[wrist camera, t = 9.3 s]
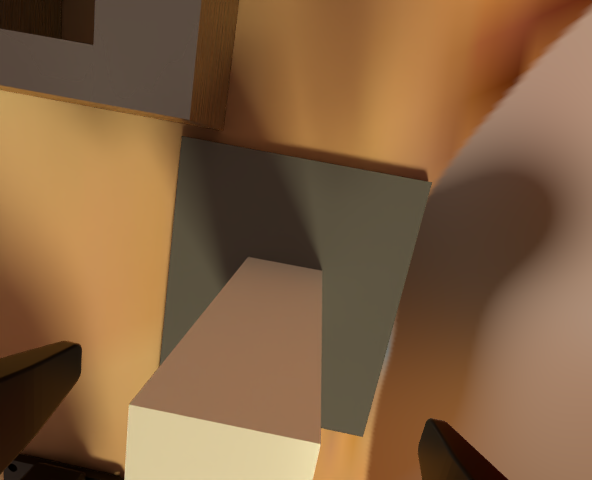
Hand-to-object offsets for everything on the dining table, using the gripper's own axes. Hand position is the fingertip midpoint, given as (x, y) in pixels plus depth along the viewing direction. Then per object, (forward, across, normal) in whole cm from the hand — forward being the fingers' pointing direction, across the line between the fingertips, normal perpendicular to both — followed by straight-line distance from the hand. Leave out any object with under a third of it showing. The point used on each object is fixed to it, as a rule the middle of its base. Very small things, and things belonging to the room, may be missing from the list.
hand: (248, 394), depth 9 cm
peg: (+6, 0, 0) cm, 6 cm away
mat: (+7, 0, 0) cm, 7 cm away
